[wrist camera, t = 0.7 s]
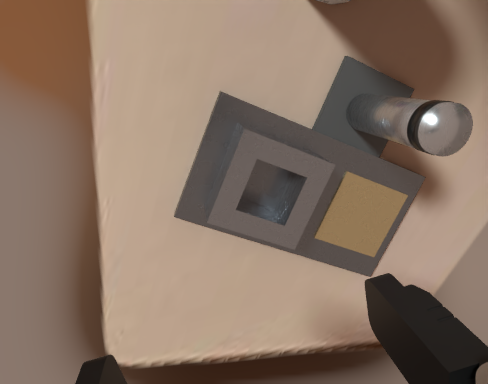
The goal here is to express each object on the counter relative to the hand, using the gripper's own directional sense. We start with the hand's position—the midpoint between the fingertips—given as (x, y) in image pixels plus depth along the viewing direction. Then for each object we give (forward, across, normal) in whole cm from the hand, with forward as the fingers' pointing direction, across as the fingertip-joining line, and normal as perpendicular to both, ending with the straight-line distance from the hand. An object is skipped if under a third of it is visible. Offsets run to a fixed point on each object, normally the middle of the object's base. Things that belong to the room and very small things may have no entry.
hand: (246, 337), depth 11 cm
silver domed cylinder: (+24, -16, 0) cm, 29 cm away
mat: (+25, -16, 0) cm, 30 cm away
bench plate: (+25, -9, +7) cm, 27 cm away
